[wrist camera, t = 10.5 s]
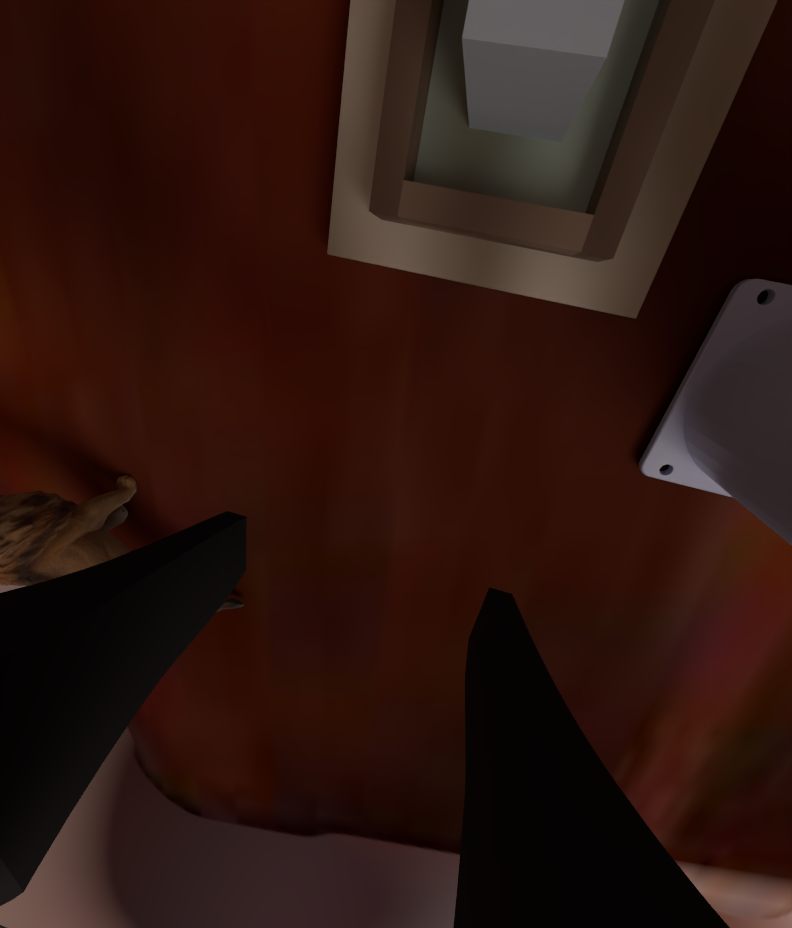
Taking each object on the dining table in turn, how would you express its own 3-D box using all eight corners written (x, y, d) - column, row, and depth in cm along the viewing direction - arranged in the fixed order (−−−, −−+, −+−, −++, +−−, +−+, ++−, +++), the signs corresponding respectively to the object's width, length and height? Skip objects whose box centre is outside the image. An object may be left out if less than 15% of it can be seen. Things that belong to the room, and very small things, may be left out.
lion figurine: (58, 484, 26) (-135, 573, 18) (79, 432, 23) (-131, 506, 15) (231, 615, 28) (129, 749, 20) (267, 579, 25) (168, 713, 17)
